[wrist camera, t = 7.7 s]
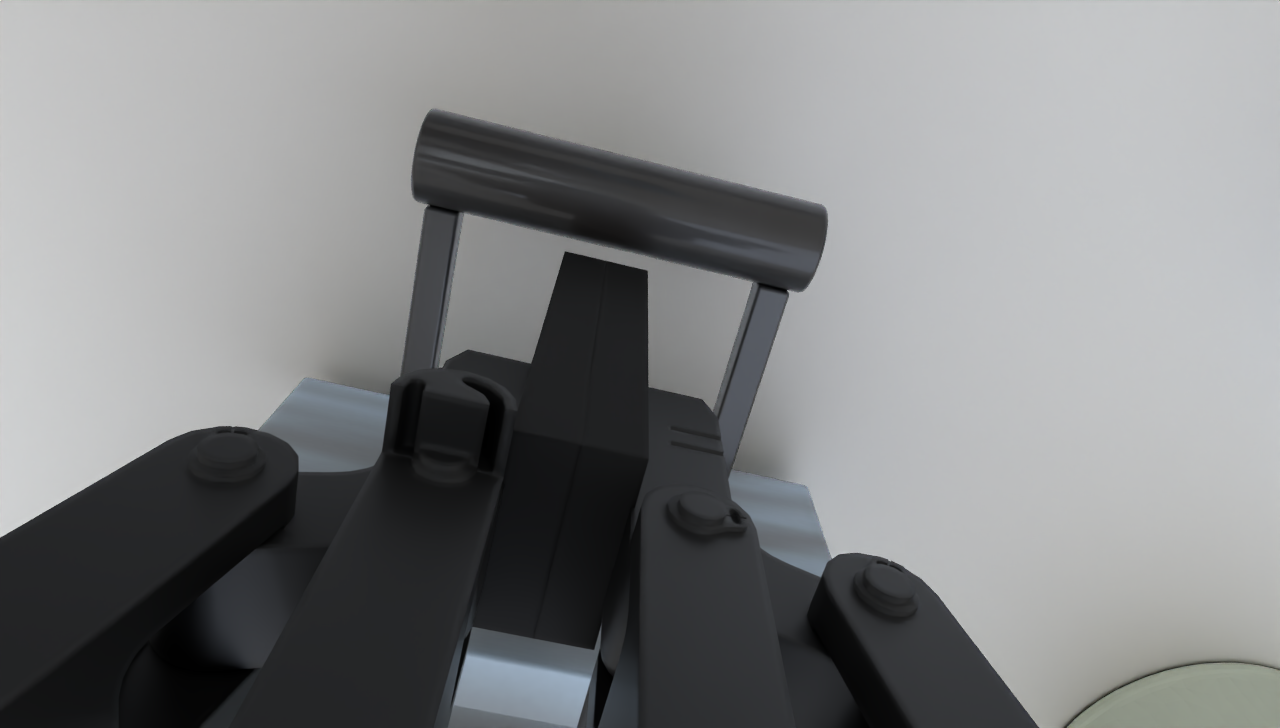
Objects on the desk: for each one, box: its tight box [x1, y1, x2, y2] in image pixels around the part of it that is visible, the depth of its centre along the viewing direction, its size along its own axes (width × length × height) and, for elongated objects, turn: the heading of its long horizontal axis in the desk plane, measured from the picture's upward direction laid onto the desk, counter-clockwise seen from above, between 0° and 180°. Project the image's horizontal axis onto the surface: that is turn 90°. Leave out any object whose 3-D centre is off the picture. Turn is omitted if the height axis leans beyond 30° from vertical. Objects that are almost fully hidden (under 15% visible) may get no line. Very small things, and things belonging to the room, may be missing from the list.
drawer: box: [258, 109, 831, 728], centre depth 18 cm, size 22×12×8 cm, turn 166°
